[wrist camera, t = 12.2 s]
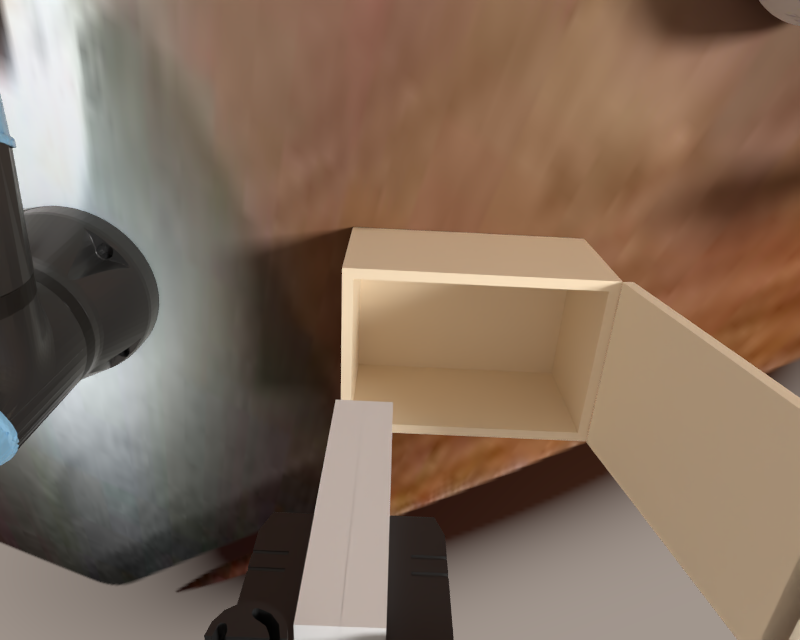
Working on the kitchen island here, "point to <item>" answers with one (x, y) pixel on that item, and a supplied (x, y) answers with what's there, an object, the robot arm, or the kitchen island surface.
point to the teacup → (784, 10)
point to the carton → (476, 331)
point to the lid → (705, 461)
